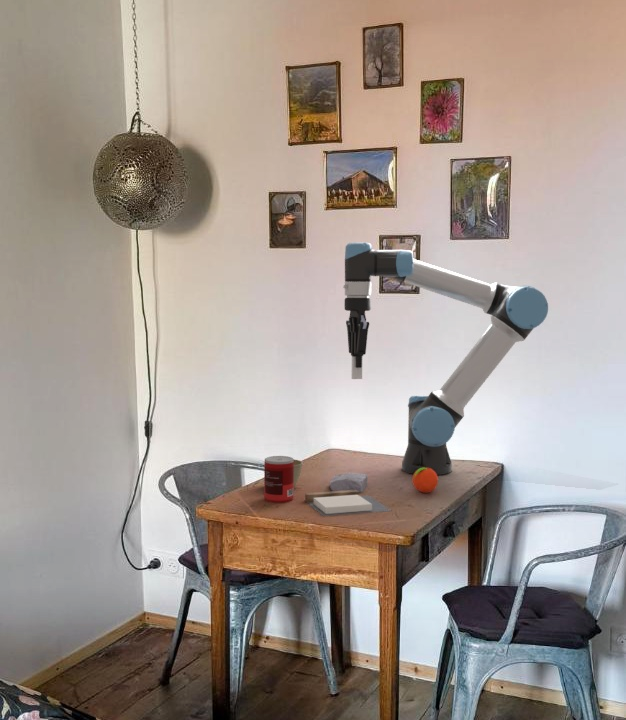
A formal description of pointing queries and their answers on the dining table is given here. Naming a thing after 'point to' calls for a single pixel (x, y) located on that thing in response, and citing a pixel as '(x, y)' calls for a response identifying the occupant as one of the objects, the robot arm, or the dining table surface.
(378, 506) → the mat
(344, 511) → the tile
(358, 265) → the robot arm
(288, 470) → the canned food
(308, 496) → the strip
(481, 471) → the dining table surface
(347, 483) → the stone block
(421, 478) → the clementine
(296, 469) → the flower pot
